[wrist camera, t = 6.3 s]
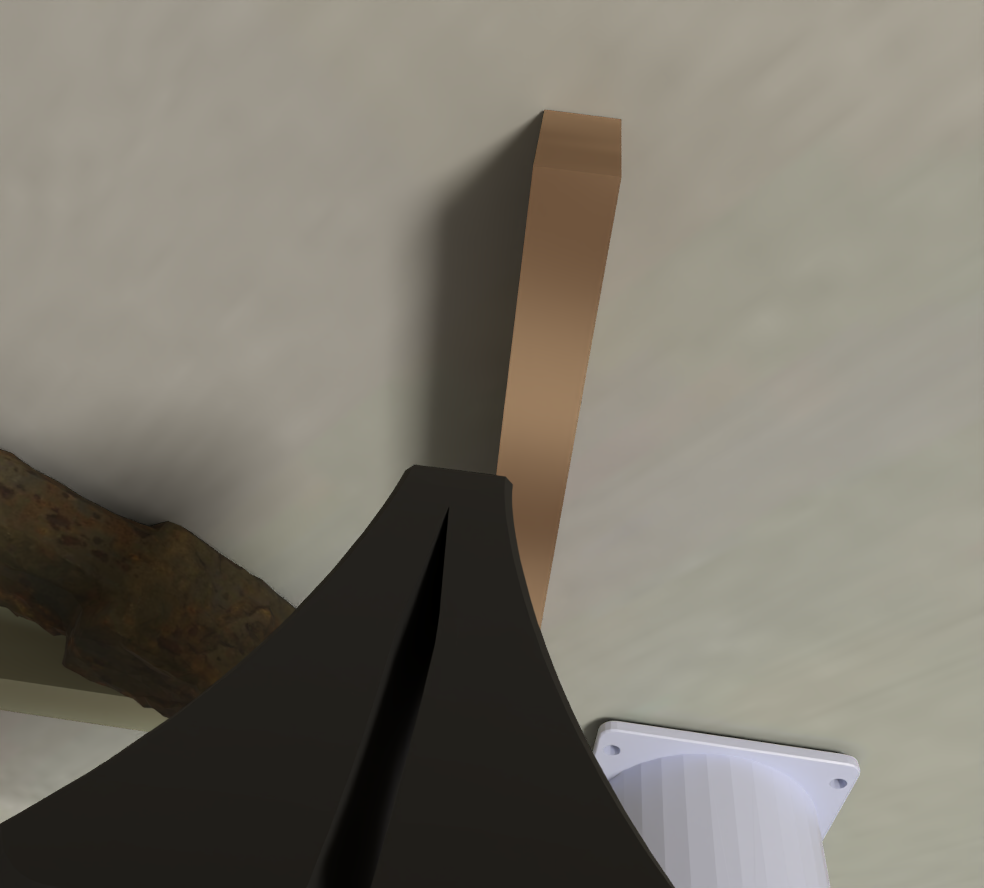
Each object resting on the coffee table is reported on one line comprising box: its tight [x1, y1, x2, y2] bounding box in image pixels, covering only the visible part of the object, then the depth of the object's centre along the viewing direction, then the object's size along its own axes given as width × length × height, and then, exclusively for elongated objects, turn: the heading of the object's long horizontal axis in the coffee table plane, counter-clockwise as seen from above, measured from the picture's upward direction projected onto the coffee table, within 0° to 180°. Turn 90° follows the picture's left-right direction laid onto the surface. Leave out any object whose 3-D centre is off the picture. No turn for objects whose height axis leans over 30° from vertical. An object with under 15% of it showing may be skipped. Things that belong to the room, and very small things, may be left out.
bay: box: [0, 110, 621, 732], centre depth 23 cm, size 18×25×3 cm
